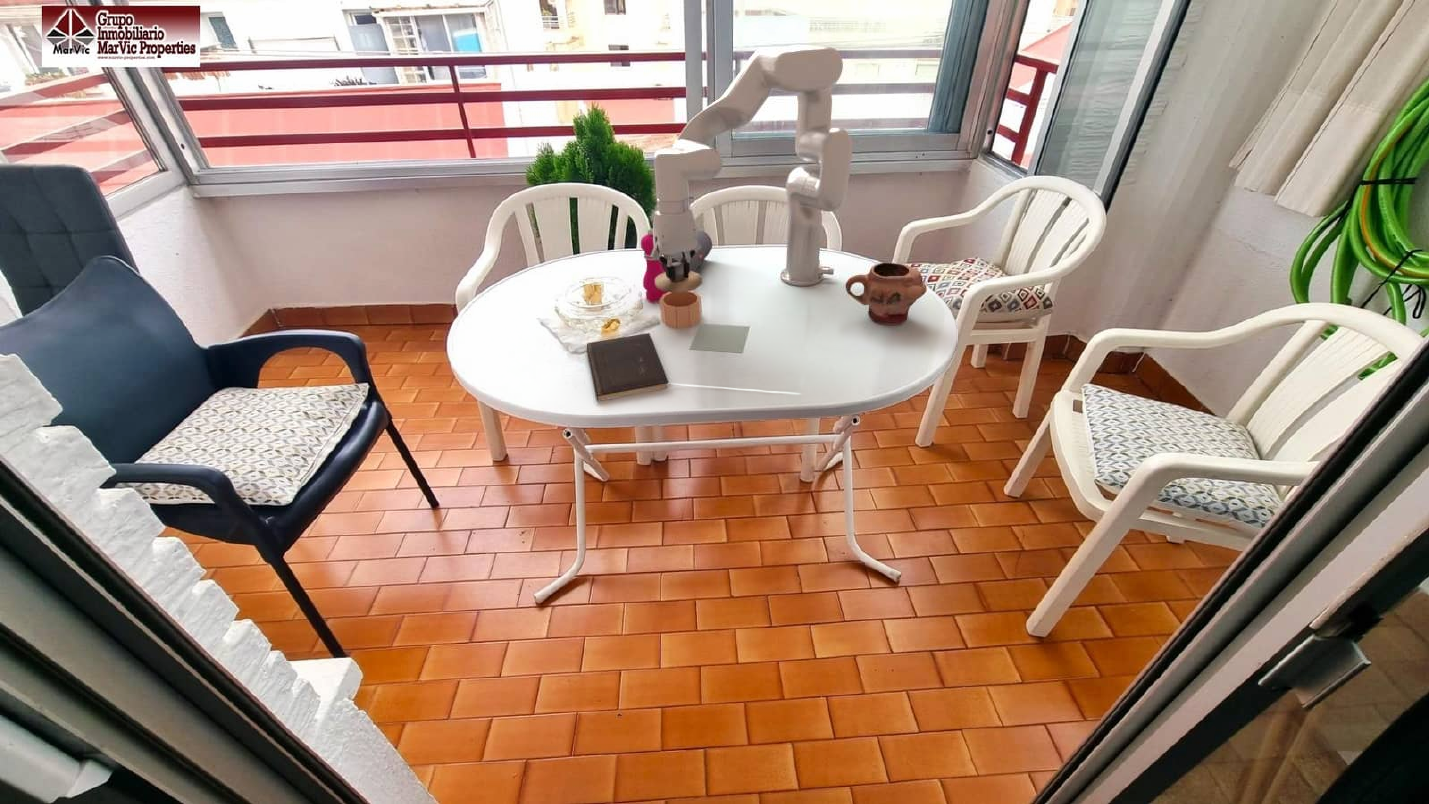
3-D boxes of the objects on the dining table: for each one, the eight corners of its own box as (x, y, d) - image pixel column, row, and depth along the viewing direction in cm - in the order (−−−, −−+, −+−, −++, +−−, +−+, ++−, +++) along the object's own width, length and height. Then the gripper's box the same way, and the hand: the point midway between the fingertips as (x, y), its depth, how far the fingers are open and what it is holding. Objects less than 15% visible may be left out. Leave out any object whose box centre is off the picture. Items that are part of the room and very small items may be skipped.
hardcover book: (650, 340, 146) (649, 332, 145) (669, 390, 128) (668, 381, 127) (586, 351, 143) (585, 343, 142) (597, 403, 125) (596, 395, 124)
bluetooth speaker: (687, 289, 168) (685, 257, 163) (658, 285, 171) (655, 253, 165) (714, 260, 185) (713, 229, 180) (688, 257, 188) (686, 226, 182)
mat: (749, 327, 149) (749, 326, 149) (742, 354, 139) (742, 352, 138) (700, 324, 151) (700, 323, 151) (689, 350, 141) (689, 349, 141)
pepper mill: (671, 291, 167) (666, 224, 156) (667, 303, 162) (661, 233, 150) (647, 291, 168) (639, 223, 156) (642, 302, 162) (634, 233, 151)
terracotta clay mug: (846, 330, 146) (852, 279, 138) (838, 308, 156) (844, 259, 148) (925, 328, 146) (936, 277, 137) (913, 306, 156) (922, 257, 147)
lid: (705, 273, 151) (705, 256, 148) (696, 293, 142) (696, 275, 139) (661, 271, 153) (660, 254, 150) (649, 291, 144) (647, 273, 141)
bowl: (704, 310, 157) (703, 290, 154) (696, 330, 149) (695, 309, 145) (667, 308, 159) (666, 288, 155) (657, 327, 150) (655, 307, 147)
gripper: (698, 195, 141) (700, 266, 152) (635, 206, 136) (642, 279, 147) (711, 203, 136) (713, 276, 147) (646, 215, 130) (653, 290, 141)
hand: (678, 277), depth 147 cm, fingers closed on lid, 3 cm apart
